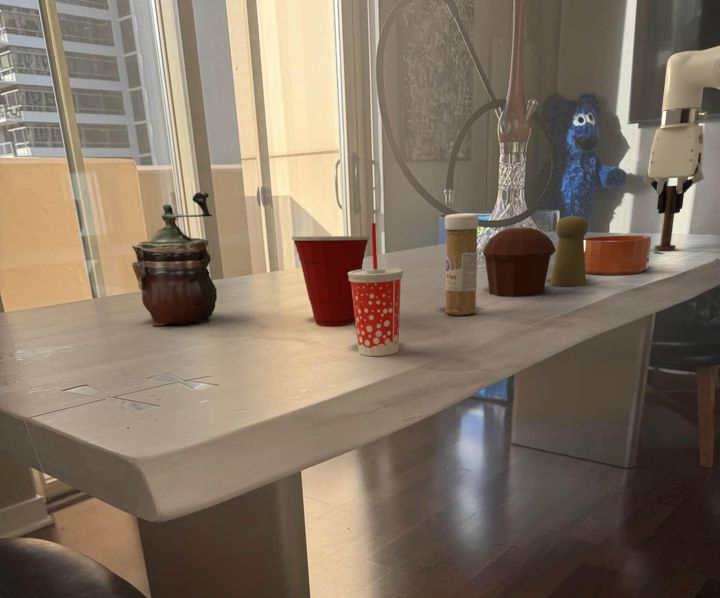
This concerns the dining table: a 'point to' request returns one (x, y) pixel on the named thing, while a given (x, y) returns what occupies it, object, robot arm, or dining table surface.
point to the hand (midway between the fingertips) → (669, 212)
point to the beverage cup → (376, 306)
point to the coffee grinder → (176, 272)
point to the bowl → (616, 254)
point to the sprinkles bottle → (461, 263)
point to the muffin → (518, 262)
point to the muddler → (667, 223)
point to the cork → (570, 252)
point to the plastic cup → (331, 275)
